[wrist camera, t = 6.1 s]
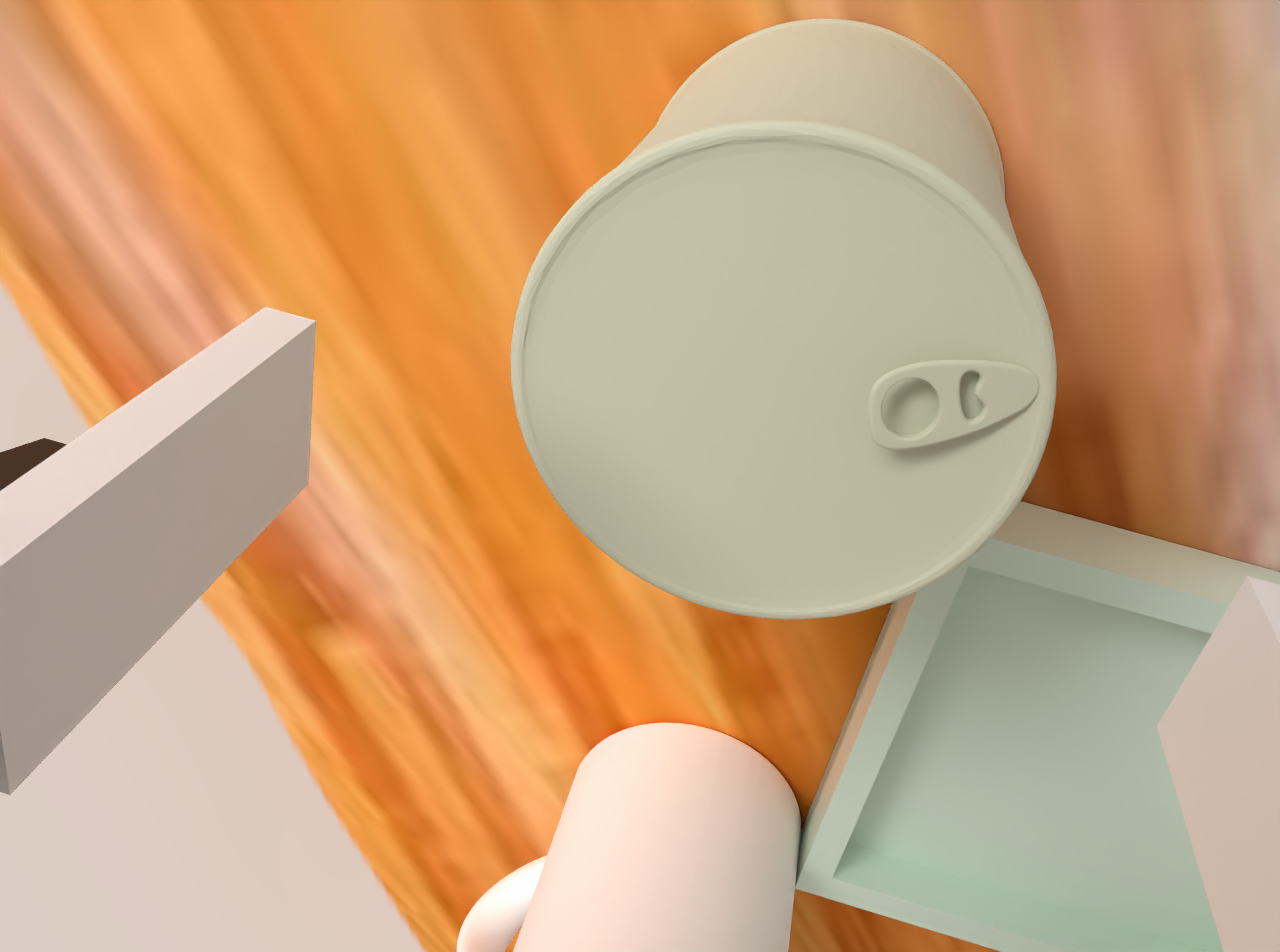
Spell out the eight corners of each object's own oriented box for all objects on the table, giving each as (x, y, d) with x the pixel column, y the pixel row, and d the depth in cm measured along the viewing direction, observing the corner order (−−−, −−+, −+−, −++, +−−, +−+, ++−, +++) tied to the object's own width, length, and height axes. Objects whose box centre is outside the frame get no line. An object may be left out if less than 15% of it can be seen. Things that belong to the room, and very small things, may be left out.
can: (1006, 362, 29) (1062, 639, 19) (668, 386, 32) (555, 642, 21) (1002, -12, 25) (1070, 83, 15) (612, 48, 27) (437, 165, 17)
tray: (941, 479, 31) (944, 525, 29) (1481, 627, 30) (1525, 686, 28) (800, 831, 39) (794, 888, 37) (1224, 959, 38) (1244, 1026, 36)
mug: (820, 1156, 31) (474, 1187, 35) (839, 865, 39) (560, 920, 44) (687, 961, 28) (329, 1023, 32) (739, 693, 36) (452, 773, 41)
